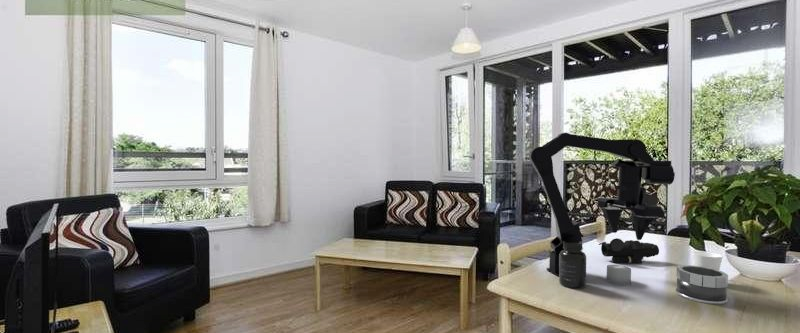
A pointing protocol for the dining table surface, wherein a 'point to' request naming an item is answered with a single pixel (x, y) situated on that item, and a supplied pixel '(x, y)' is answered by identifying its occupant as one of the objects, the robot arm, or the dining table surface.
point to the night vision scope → (628, 250)
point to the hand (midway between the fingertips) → (626, 236)
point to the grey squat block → (619, 274)
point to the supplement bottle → (572, 265)
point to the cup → (707, 259)
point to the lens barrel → (702, 284)
